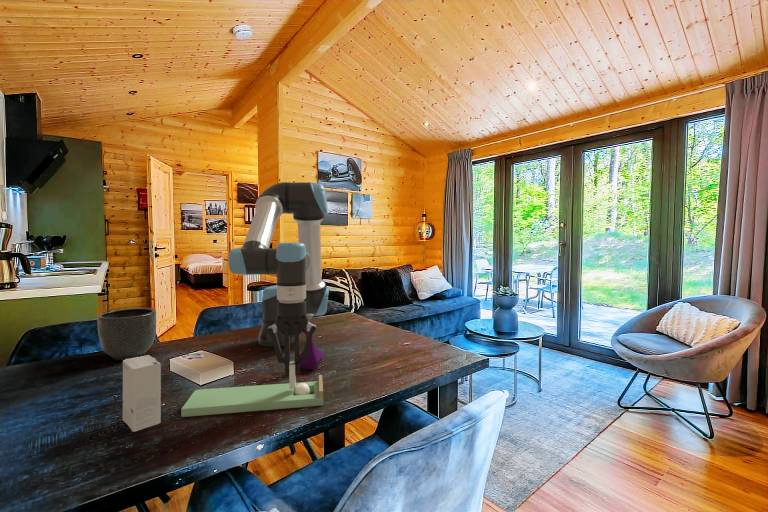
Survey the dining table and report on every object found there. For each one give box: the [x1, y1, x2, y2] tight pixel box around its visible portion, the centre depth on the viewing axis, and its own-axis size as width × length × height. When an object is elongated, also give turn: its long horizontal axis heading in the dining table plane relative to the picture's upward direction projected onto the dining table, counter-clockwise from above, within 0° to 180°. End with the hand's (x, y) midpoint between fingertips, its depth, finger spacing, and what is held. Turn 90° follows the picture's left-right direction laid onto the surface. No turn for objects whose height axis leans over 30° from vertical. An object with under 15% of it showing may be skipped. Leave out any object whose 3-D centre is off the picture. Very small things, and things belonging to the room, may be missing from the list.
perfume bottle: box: [300, 314, 325, 371], centre depth 121 cm, size 8×8×18 cm
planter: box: [96, 307, 157, 361], centre depth 131 cm, size 17×17×16 cm
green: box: [180, 374, 324, 418], centre depth 97 cm, size 11×34×4 cm, turn 101°
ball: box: [294, 382, 311, 395], centre depth 99 cm, size 4×4×4 cm
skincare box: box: [122, 354, 162, 433], centre depth 86 cm, size 8×6×15 cm
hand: (292, 386), depth 99 cm, fingers closed
